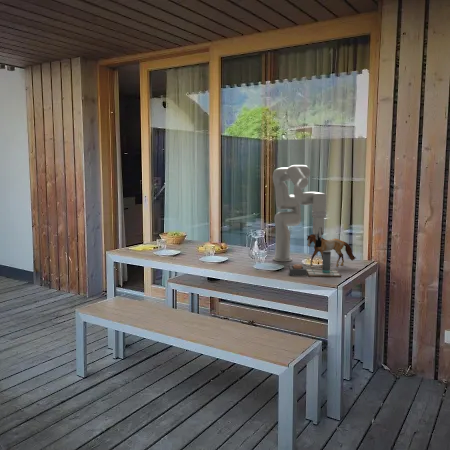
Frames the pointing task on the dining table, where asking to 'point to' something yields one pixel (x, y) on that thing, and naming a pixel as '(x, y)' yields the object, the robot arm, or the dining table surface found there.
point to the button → (297, 266)
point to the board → (319, 273)
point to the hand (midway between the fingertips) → (318, 246)
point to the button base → (297, 271)
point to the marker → (326, 262)
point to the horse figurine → (330, 248)
